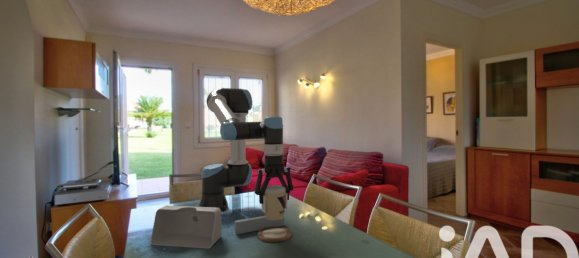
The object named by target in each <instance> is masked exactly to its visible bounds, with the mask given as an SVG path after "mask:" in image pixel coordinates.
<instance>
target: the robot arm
mask: <svg viewBox="0 0 579 258" xmlns="http://www.w3.org/2000/svg"><path fill="white" fill-rule="evenodd" d="M206 105H207V108H208V109H209V111H210V112H212V113H213V114H214V115H215V117H216V119H217V120H218V122H219V124H220V128H219V134H220V138H221V140H223V141H229V160H228V161H227V162H226V165H224V164H223V163H214V164H210V165H206V166H204V167H203V168H202V169H201V176H200V177H201V198H200V200H199V204H198V207H216V208H220V210H221V212H223V211H225V210H227V209H228V208H229V203H228V200H227V197H226V195H225V188H226V189H227V188H234V187H235V188H236V187H243V186H247V185H249V184H250V182H251V181H252V178H253V177H252V176H253V169H252V165H251V164H249V161H248V160H247V159H246V155H247V154H246V151H247V150H246V141H247V140H264V141H263V142H264V143H263V144H264V167H263V168H262V169H260V168H258V169H257V177H256V182H255V189H254V194H255V195H256V196H258V199H259V200H258V201H259V202H258V203H259V204H260V205H261V212H263V213H264V214H265V212H266V196H265V195H264V193H265V191H266V188H267V186H269V183H270V182H271V180H272V179H275V178H277V179H278V180H279V182H280V184H281V186H284V187H285V189H286V191H285V210H287V209H288V201H289V200H290V193H291V192H292V191H294V185H293V180H292V177H291V176H292V175H291V167H289V166H284V155H283V153H284V123H283V118H282V116H265V117H264V119H263V121H247V120H246V117H247V115H248V114H249V111H250V110H252V108H253V96H252V94H251V92H250V91H249V90H248V89H245V88H228V87H218V88H215V89H213V90H212V91H211V92H209V94H208V95H207V97H206ZM283 172H284V175H285V178H284V176H283V174H282V173H283ZM264 173H265V177H263V175H264ZM263 178H264V179H263ZM285 179H286V180H285ZM262 182H263V183H262Z"/></svg>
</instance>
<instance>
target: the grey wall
mask: <svg viewBox="0 0 579 258" xmlns="http://www.w3.org/2000/svg"><path fill="white" fill-rule="evenodd" d="M284 226H285V217H284V218H282V219H279V220H269V219H266V217H265V215H263V216H256V217H255V216H254V217H250V218H244V219H238V220H234V234H235V235H240V234H245V233H250V232H251V233H252V232H257V231H260V230H262V229H264V228H268V227H284Z"/></svg>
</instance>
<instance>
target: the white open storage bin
mask: <svg viewBox="0 0 579 258" xmlns="http://www.w3.org/2000/svg"><path fill="white" fill-rule="evenodd" d="M152 226H153V227H152V231H151V236H150V244H151V245H152V246H167V247H181V248H195V249H211V248H212V247H213V246H214V244H216V243H217V242H218V241H219V239H221V237H222V211H221V210H220V208H216V207H199V206H190V205H189V206H188V205H164V206H162V207H160V208H159V209H157V210H156V212H155V215H154V220H153V225H152Z"/></svg>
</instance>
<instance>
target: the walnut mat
mask: <svg viewBox="0 0 579 258" xmlns="http://www.w3.org/2000/svg"><path fill="white" fill-rule="evenodd" d="M292 236H293V233H292V231H291V229H289V228H286V227H284V226H278V227H268V228H264V229H262V230H258V232H257V238H258V240H260V241H262V242H265V243H271V244H273V243H275V244H277V243H278V244H279V243H283V242H285V241H288V240H290V239H291V238H292Z"/></svg>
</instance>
